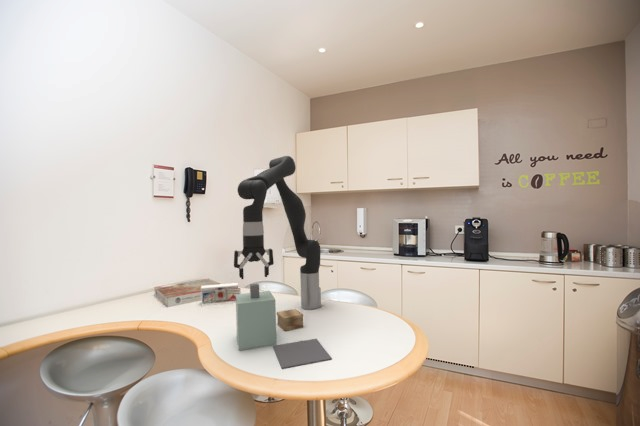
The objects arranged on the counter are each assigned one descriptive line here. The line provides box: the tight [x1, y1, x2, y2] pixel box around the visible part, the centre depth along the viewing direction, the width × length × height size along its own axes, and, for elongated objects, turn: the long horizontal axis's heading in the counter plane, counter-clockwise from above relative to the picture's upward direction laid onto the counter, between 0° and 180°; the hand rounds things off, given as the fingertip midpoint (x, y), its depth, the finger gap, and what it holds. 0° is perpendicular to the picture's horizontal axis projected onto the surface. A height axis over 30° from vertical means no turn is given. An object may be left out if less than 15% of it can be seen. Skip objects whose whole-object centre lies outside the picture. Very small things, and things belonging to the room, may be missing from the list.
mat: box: [272, 338, 333, 370], centre depth 100 cm, size 16×16×1 cm
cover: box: [235, 283, 277, 351], centre depth 111 cm, size 13×13×20 cm
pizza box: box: [153, 278, 221, 308], centre depth 177 cm, size 32×5×32 cm
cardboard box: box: [276, 308, 304, 332], centre depth 124 cm, size 8×8×5 cm
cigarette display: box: [200, 282, 242, 307], centre depth 160 cm, size 20×6×9 cm, turn 104°
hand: (254, 277), depth 111 cm, fingers open, 8 cm apart
